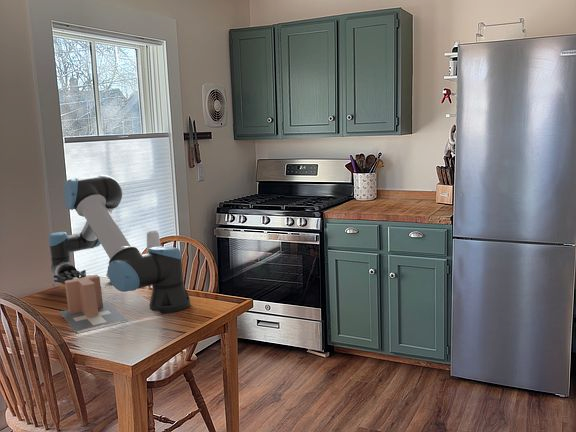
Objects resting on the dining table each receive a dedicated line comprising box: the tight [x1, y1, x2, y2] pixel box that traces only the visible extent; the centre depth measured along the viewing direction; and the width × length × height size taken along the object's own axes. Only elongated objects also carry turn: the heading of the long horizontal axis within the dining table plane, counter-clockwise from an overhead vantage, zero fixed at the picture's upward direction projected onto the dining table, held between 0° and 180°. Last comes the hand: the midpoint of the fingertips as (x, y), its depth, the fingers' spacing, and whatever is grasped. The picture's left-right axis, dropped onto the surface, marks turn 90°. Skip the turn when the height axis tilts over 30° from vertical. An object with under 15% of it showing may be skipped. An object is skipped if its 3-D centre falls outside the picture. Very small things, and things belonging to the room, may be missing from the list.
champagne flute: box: [146, 230, 162, 289], centre depth 249 cm, size 7×7×24 cm
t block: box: [64, 274, 104, 318], centre depth 215 cm, size 13×12×12 cm
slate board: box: [58, 301, 128, 335], centre depth 212 cm, size 28×18×1 cm, turn 32°
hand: (78, 284), depth 225 cm, fingers closed
